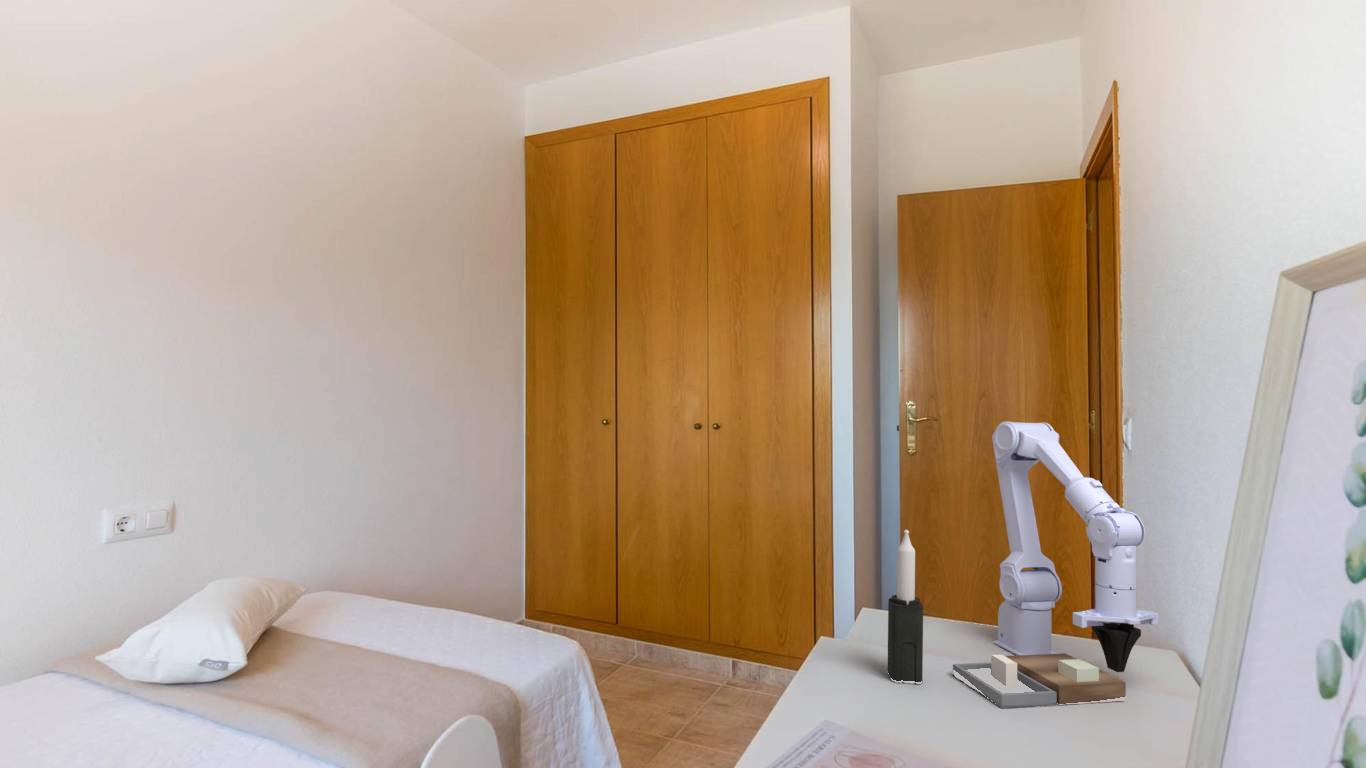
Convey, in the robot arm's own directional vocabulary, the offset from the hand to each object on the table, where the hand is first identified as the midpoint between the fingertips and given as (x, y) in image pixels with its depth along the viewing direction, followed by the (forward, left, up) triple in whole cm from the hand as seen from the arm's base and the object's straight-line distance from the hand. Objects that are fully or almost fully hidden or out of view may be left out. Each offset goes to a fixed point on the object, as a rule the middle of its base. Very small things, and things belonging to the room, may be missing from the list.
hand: (1115, 669), depth 110 cm
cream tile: (-5, -16, -1) cm, 17 cm away
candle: (-10, -32, -4) cm, 34 cm away
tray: (-4, -18, -4) cm, 19 cm away
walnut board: (-4, -7, -4) cm, 9 cm away
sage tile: (0, -7, -1) cm, 7 cm away
